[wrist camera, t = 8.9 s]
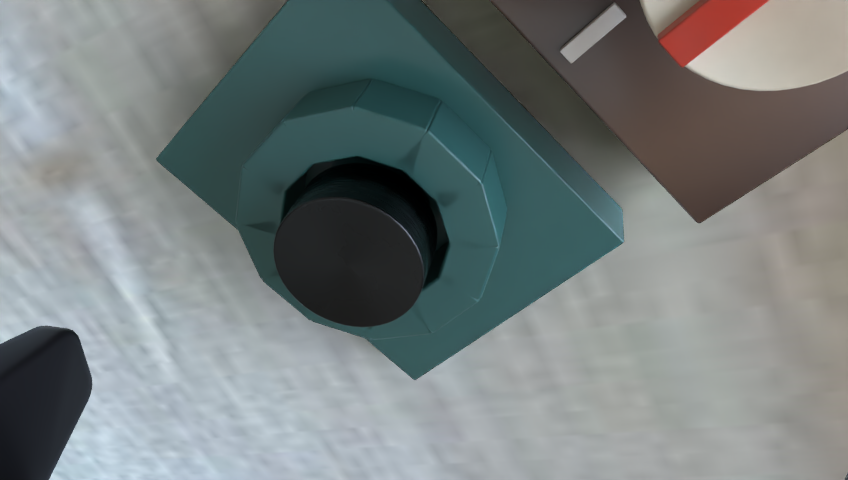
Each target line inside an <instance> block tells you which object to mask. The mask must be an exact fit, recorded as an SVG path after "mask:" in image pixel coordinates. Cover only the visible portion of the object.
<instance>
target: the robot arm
mask: <svg viewBox="0 0 848 480" xmlns="http://www.w3.org/2000/svg"><path fill="white" fill-rule="evenodd" d="M91 390H92V377H91V373H90V370H89V367H88V364H87V361H86V358H85V355H84V352H83V349H82V345H81V342H80V339H79V337H78V335H77V334H76V333H75V332H74V331H73V330H70V329H67V328H59V327H52V326H39V327H36V328H34V329H31V330H29V331H27V332H25V333H23V334H21V335H19V336H16V337H14V338H12V339H10V340H8V341H6V342H4V343H2V344H0V480H49V478H50V476H51V474H52V472H53V470H54V468H55V466H56V464H57V462H58V460H59V458H60V456H61V454H62V452H63V450H64V448H65V446H66V444H67V442H68V440H69V438H70V436H71V434H72V432H73V430H74V428H75V426H76V424H77V422H78V420H79V418H80V416H81V414H82V412H83V410H84V408H85V406H86V404H87V402H88V399H89V397H90V394H91ZM845 480H848V473H847V476H846V478H845Z"/></svg>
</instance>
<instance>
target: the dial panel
mask: <svg viewBox="0 0 848 480" xmlns="http://www.w3.org/2000/svg"><path fill="white" fill-rule="evenodd" d="M489 1H490V2H491V3H492V4H493V5H494V6H495V7H496V8H497V9H498V10H499V11H500V13H501V14H502V15H503V16H504V17H505V18H506V19H507V20H508V21H509V22H510V23H511V24H512V25H513V26H514V28H515V29H516V30H517V31H518V32H519V33H520V34H521V35H522V36H523V37H524V38H525V39H526V40H527V41H528V43H529V44H530V45H531V46H532V47H533V48H534V49H535V50H536V51H537V52H538V53H539V54H540V55H541V56H542V57H543V59H544V60H545V61H546V62H547V63H548V64H549V65H550V66H551V67H552V68H553V69H554V70H555V71H556V72H557V74H558V75H559V76H560V77H561V78H562V79H563V80H564V81H565V82H566V83H567V84H568V85H569V86H570V87H571V89H572V90H573V91H574V92H575V93H576V94H577V95H578V96H579V97H580V98H581V99H582V100H583V101H584V102H585V104H586V105H587V106H588V107H589V108H590V109H591V110H592V111H593V112H594V113H595V114H596V115H597V116H598V117H599V119H600V120H601V121H602V122H603V123H604V124H605V125H606V126H607V127H608V128H609V129H610V130H611V131H612V132H613V134H614V135H615V136H616V137H617V138H618V139H619V140H620V141H621V142H622V143H623V144H624V145H625V146H626V147H627V149H628V150H629V151H630V152H631V153H632V154H633V155H634V156H635V157H636V158H637V159H638V160H639V161H640V162H641V164H642V165H643V166H644V167H645V168H646V169H647V170H648V171H649V172H650V173H651V174H652V175H653V176H654V177H655V179H656V180H657V181H658V182H659V183H660V184H661V185H662V186H663V187H664V188H665V189H666V190H667V191H668V192H669V194H670V195H671V196H672V197H673V198H674V199H675V200H676V201H677V202H678V203H679V204H680V205H681V206H682V207H683V209H684V210H685V211H686V212H687V213H688V214H689V215H690V216H691V217H692V218H693V219H694V220H695V221H696V222H697V223H701V222H703V221H704V220H706V219H707V218H709V217H711V216H712V215H714V214H715V213H717V212H718V211H720V210H722V209H723V208H725V207H726V206H728V205H729V204H731V203H733V202H734V201H736V200H737V199H739V198H740V197H742V196H744V195H745V194H747V193H748V192H750V191H751V190H753V189H755V188H756V187H758V186H759V185H761V184H763V183H764V182H766V181H767V180H769V179H770V178H772V177H774V176H775V175H777V174H778V173H780V172H781V171H783V170H785V169H786V168H788V167H789V166H791V165H792V164H794V163H796V162H797V161H799V160H800V159H802V158H803V157H805V156H807V155H808V154H810V153H811V152H813V151H814V150H816V149H818V148H819V147H821V146H822V145H824V144H825V143H827V142H829V141H830V140H832V139H833V138H835V137H836V136H838V135H840V134H841V133H843V132H844V131H846V130H847V129H848V71H846V72H844V73H842V74H840V75H838V76H836V77H833V78H830V79H827V80H825V81H822V82H819V83H816V84H812V85H808V86H804V87H799V88H793V89H786V90H778V91H754V90H744V89H737V88H733V87H729V86H724V85H721V84H718V83H716V82H713V81H710V80H707V79H705V78H703V77H701V76H700V75H698V74H696V73H694V72H692V71H690V70H689V69H688V68H686V67H685V66H684V67H680V66H679V65H678V64H677V63H676V62H675V61H674V59H673V58H672V57H671V56H670V55H669V54H668V53H667V51H666V50H665V49H664V48H663V47H662V46H661V45H660V44H659V42H658V39H657V38H656V36H655V35H654V33H653V31H652V29H651V27H650V26H649V24H648V22H647V20H646V17H645V14H644V12H643V9H642V7H641V4H640V0H489Z"/></svg>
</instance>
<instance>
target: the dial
mask: <svg viewBox="0 0 848 480" xmlns="http://www.w3.org/2000/svg"><path fill="white" fill-rule="evenodd" d="M640 4H641V7H642V9H643V12H644V14H645V17H646V20H647V22H648V24H649V26H650V27H651V29H652V31H653V33H654V35H655V36H656V38H657V39H658V42H659V44H660V45H661V46H662V47H663V48H664V49H665V50H666V51H667V53H668V54H669V55H670V56H671V57H672V58H673V59H674V61H675V62H676V63H677V64H678V65H679V66H680V67H684V66H685V67H686V68H688V69H689V70H690V71H692V72H694V73H696V74H698V75H700V76H701V77H703V78H705V79H707V80H710V81H713V82H716V83H718V84H721V85H724V86H729V87H733V88H737V89H744V90H754V91H778V90H786V89H793V88H799V87H804V86H808V85H812V84H816V83H819V82H822V81H825V80H827V79H830V78H833V77H836V76H838V75H840V74H842V73H844V72H846V71H848V0H640Z"/></svg>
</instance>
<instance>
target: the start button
mask: <svg viewBox="0 0 848 480" xmlns="http://www.w3.org/2000/svg"><path fill="white" fill-rule="evenodd" d="M437 237H438V233H437V224H436V220H435V217H434V214H433V212H432V209H431V207H430V206H429V204H428V202H427V200H426V199H425V198H424V196H423V195H422V194H421V193H420V191H419V190H418V189H417V188H416V187H415V186H414V185H412V184H411V183H410V182H409V181H408V180H406V179H405V178H403V177H402V176H400V175H399V174H397V173H395V172H393V171H391V170H388V169H386V168H383V167H380V166H376V165H372V164H365V163H348V164H341V165H338V166H334V167H331V168H329V169H326V170H324V171H323V172H321V173H319V174H318V175H317V176H315V177H314V178H313V179H312V180H311V181H310V182H309V183H308V184H307V186H306V187H305V189H304V190H303V191H302V193H301V194H300V196H299V197H298V199H297V200H296V201H295V203H294V204H293V206H292V207H291V209H290V210H289V212H288V213H287V214H286V216H285V217H284V219H283V220H282V222H281V223H280V225H279V227H278V229H277V232H276V234H275V239H274V247H273V253H274V261H275V265H276V269H277V271H278V274H279V276H280V278H281V280H282V282H283V284H284V285H285V287H286V288H287V290H288V291H289V292H290V293H291V294H292V296H293V297H294V298H295V299H296V300H297V301H298V302H299V303H300V304H302V305H303V306H304V307H305V308H307V309H308V310H310V311H311V312H313V313H314V314H316V315H318V316H320V317H322V318H324V319H326V320H329V321H331V322H334V323H337V324H341V325H345V326H352V327H373V326H379V325H383V324H386V323H389V322H392V321H394V320H396V319H398V318H399V317H401V316H403V315H404V314H405V313H406V312H408V311H409V310H410V309H411V308H412V307H413V305H414V304H415V303H416V301H417V300H418V298H419V296H420V294H421V291H422V289H423V286H424V283H425V280H426V277H427V274H428V271H429V268H430V265H431V262H432V259H433V256H434V253H435V250H436V246H437Z"/></svg>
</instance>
